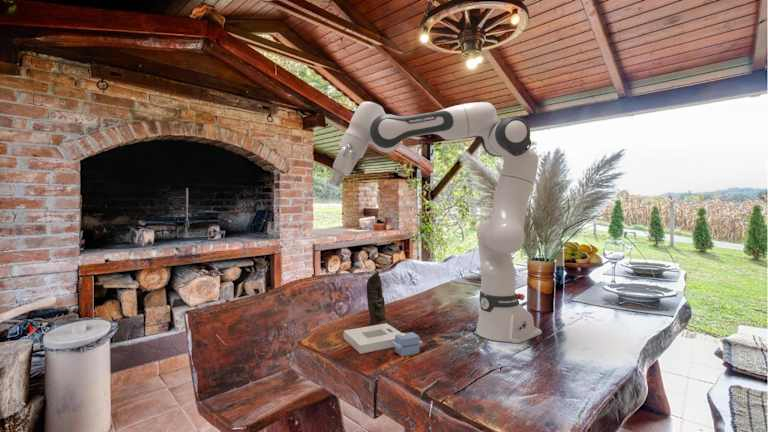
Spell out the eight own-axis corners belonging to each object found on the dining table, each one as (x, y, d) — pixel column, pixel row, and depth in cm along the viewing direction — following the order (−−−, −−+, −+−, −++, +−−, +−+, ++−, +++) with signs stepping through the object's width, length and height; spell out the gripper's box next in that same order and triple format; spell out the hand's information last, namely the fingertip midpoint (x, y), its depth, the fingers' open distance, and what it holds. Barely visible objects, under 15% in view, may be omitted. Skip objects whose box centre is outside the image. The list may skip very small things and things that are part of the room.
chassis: (386, 330, 124) (386, 322, 124) (407, 344, 111) (407, 335, 111) (343, 338, 117) (343, 329, 117) (360, 353, 104) (360, 344, 104)
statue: (385, 328, 126) (385, 272, 125) (366, 326, 127) (366, 271, 127) (389, 322, 133) (389, 268, 132) (370, 320, 134) (370, 268, 134)
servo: (415, 347, 109) (415, 328, 109) (422, 352, 106) (422, 332, 106) (391, 352, 105) (391, 333, 105) (398, 357, 102) (398, 337, 102)
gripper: (359, 146, 108) (339, 187, 108) (362, 156, 128) (345, 190, 129) (340, 137, 108) (320, 178, 108) (346, 148, 128) (329, 182, 128)
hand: (334, 185), depth 118 cm, fingers open, 8 cm apart
